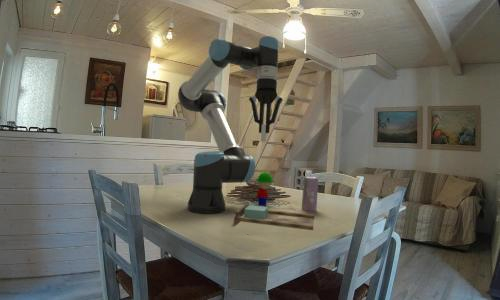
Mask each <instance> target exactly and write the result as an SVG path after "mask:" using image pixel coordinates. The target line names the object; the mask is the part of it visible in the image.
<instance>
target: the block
mask: <svg viewBox="0 0 500 300" xmlns="http://www.w3.org/2000/svg"><path fill="white" fill-rule="evenodd" d="M268 210H269V206H263V205H251V204H250V205H249V204H248V207H247V208H245V212H244V218H253V219H261V220H266V219H265V218H266V217H267V215H268Z"/></svg>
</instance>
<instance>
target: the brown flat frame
mask: <svg viewBox="0 0 500 300" xmlns="http://www.w3.org/2000/svg"><path fill="white" fill-rule="evenodd" d="M248 206H249V204H247V203H245V204H244V205H242V206H241V207H239V209H237V210H236V211H235V214H234V217H233V224H234V225H238V224H239V223H241V222H250V223H255V224H257V223H258V224H266V225H274V226H280V227H281V226H282V227H290V228H300V229H306V230H314V224H315V223H314V222H315V215H314V214H308V213H306V214H304V213H299V212H288V211H279V210H271V209H268V215H267V217H266V218H265V219H264V220H261V219H253V218H244V212H245V208H247V207H248ZM279 215H280V216H282V215H283V216H289V217H290V216H291V217H296V219H292V218H291V219H290V218H283V217H278V216H279Z"/></svg>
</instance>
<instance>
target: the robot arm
mask: <svg viewBox="0 0 500 300" xmlns="http://www.w3.org/2000/svg"><path fill="white" fill-rule="evenodd" d="M279 51H280V43H279V39H278V38H277V37H275V36H272V35H271V36H268V35H265V36H262V37H260V39H259V41H258V46H256V47H253V48H251V47H247V46H244V45H240V44H237V43H234V42H230V41H227V40H225V39H219V38H215V39H213V40H212V41H211V42H210V45H209V48H208V54H209V55H208V57H206V59H205V60H204V62H202V64H201V65H200V66H199V68H198V69H196V71H195V72H194V73H193V74H192V76H190V78H189V79H188V80H185V81H184V82H182V84H181V86H179V89H178V92H177V99H178V102H179V103H180V105H181V106H182V107H183V108H184V109H185V110H187V111H189V112H194V113H195V112H196V113H200V115H201V117H202V118H203V119H204V120H205V121H207V124H208V126H209V128H210V129H209V130H210V131H211V135H212V136H213V139H214V141H215V143H216V147H217V148H218V150H214V151H213V150H210V151H202V152H201V151H200V152H198V153H196V154H195V156H194V162H193V181H192V182H193V183H192V191H191V194H190V196H189V199H188V201H187V207H186V208H187V210H188V211H189V212H192V213H197V214H217V213H222V212H224V211H226V200H225V197H224V194H223V183H244V182H249V181H250V180H251V179H252V178H253V177H254V175H255V171H256V170H255V169H256V162H255V158H254V157H253V156H252V155H250V154H246V152H245V150H244V149H243V147H241V146H239V145H238V143H237V142H236V139H235V136H234V134H233V132H232V130H231V128H230V126H229V123H228V120H227V119H226V117H225V114H224V113H225V110H226V107H227V106H226V105H227V104H226V102H227V101H226V97H225V95H224V94H223V93H222V92H220V91H217V90H214V89H213V90H212V89H206V88H207V87H208V86H209V85H210V84H211V83H212V82H213V81H214V80H215V79H216V78H217V76H218V75H220V74H221V72H222V71H223V70H224V69H225V68H227V66H228V65H229V64H231V65H235V66H239V67H240V69H242V70H244V71H251V70H255V69H257V74H256V75H257V77H256V78H257V80H256V91H255V93H254V95H252V96H251V97H249V98H248V99H249V102H250V103H251V104H250V105H251V109H252V114H253V120H254V123H257V124H258V133H259V134H261V135H260V142H262V143H267V134H269V133H270V126H271V125H272V124H275V122H276V120H277V117H278V112H279V109H280V106H281V104H282V103H283V101H284V99H283V98H282V97H280V96H279V95H278V93H277V85H278V81H277V79H278V72H279V71H278V65H279V53H280V52H279ZM256 101H258V103H259V114H258V109H257V108H258V107H257V104H256ZM274 101H275V104H274V105H275V106H274V108H273V112H272V114H271V111H272V109H271V108H272V104H273V103H274ZM265 105H266V106H265ZM265 107H266V110H265ZM264 118H265V122H264Z"/></svg>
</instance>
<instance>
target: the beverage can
mask: <svg viewBox="0 0 500 300" xmlns="http://www.w3.org/2000/svg"><path fill="white" fill-rule="evenodd" d="M318 190H319V178H318V177H317V176H303V180H302V198H301V201H302V202H301V210H302V211H304V212H310V213H311V212H317V208H318V206H317V205H318Z"/></svg>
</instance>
